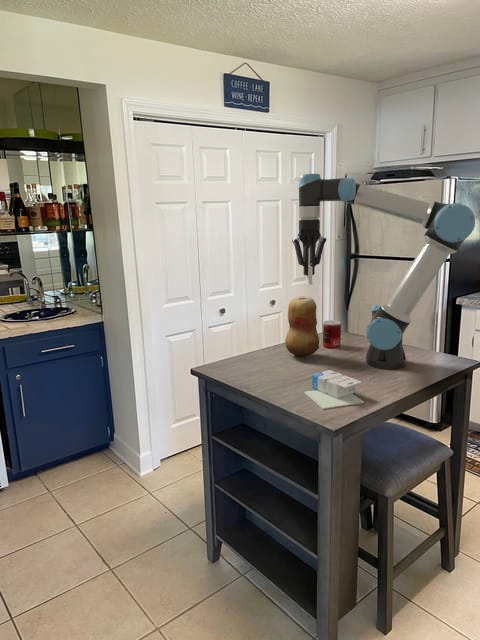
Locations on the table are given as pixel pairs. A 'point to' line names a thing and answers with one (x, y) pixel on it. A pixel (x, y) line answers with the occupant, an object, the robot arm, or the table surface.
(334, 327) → the canned food
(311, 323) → the butternut squash
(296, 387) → the table surface
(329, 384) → the ink box
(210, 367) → the table surface
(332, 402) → the sage mat
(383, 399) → the table surface
